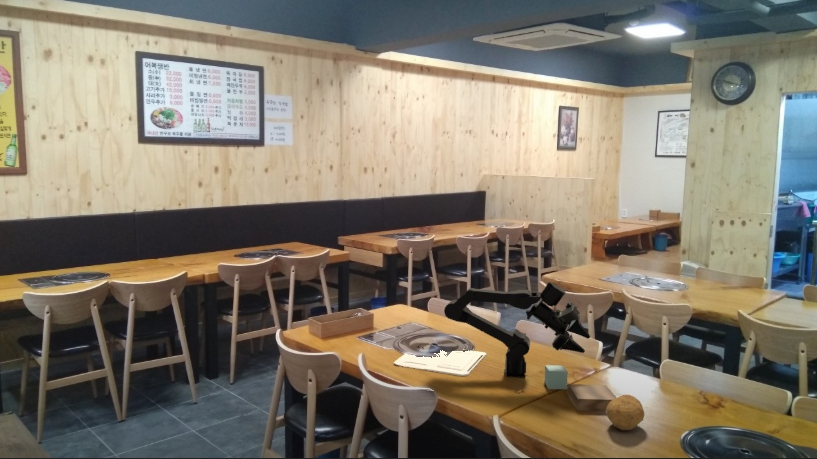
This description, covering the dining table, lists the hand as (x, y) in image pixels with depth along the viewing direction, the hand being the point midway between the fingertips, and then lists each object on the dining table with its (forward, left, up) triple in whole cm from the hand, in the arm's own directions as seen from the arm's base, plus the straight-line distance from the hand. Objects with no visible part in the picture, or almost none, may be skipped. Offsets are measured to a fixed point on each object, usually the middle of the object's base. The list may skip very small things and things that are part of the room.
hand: (586, 344), depth 200 cm
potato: (+1, -35, -13) cm, 38 cm away
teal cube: (-11, -4, -13) cm, 18 cm away
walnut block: (-3, -18, -13) cm, 23 cm away
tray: (-48, +20, -14) cm, 54 cm away
